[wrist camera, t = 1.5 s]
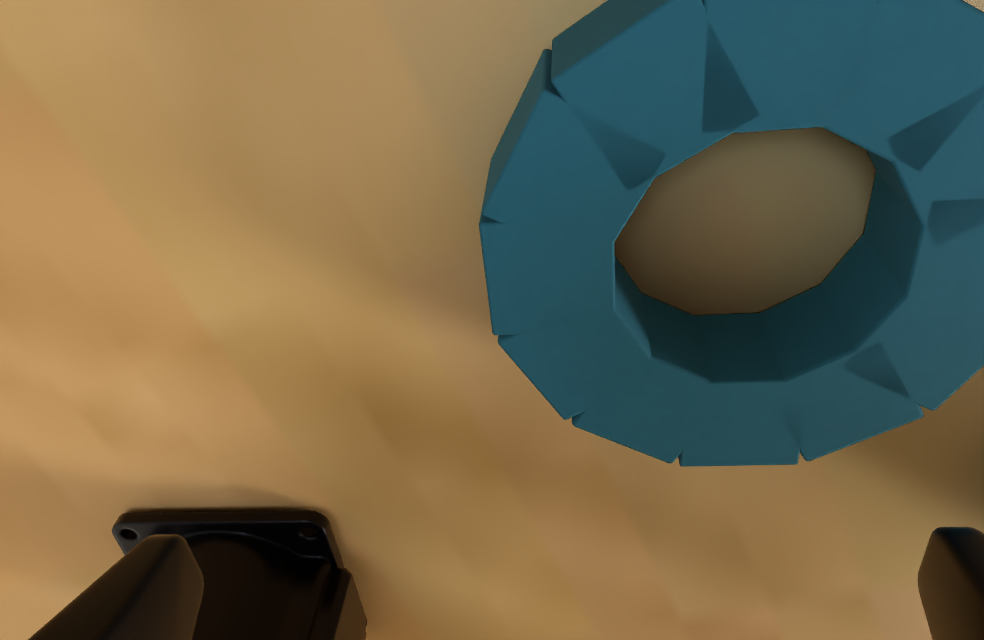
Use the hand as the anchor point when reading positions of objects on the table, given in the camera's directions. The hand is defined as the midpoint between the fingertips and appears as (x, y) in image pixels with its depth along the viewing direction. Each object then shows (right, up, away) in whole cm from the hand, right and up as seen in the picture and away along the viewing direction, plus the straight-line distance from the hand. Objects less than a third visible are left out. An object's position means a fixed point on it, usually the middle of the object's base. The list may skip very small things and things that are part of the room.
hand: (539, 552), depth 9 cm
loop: (+4, +5, +6) cm, 9 cm away
